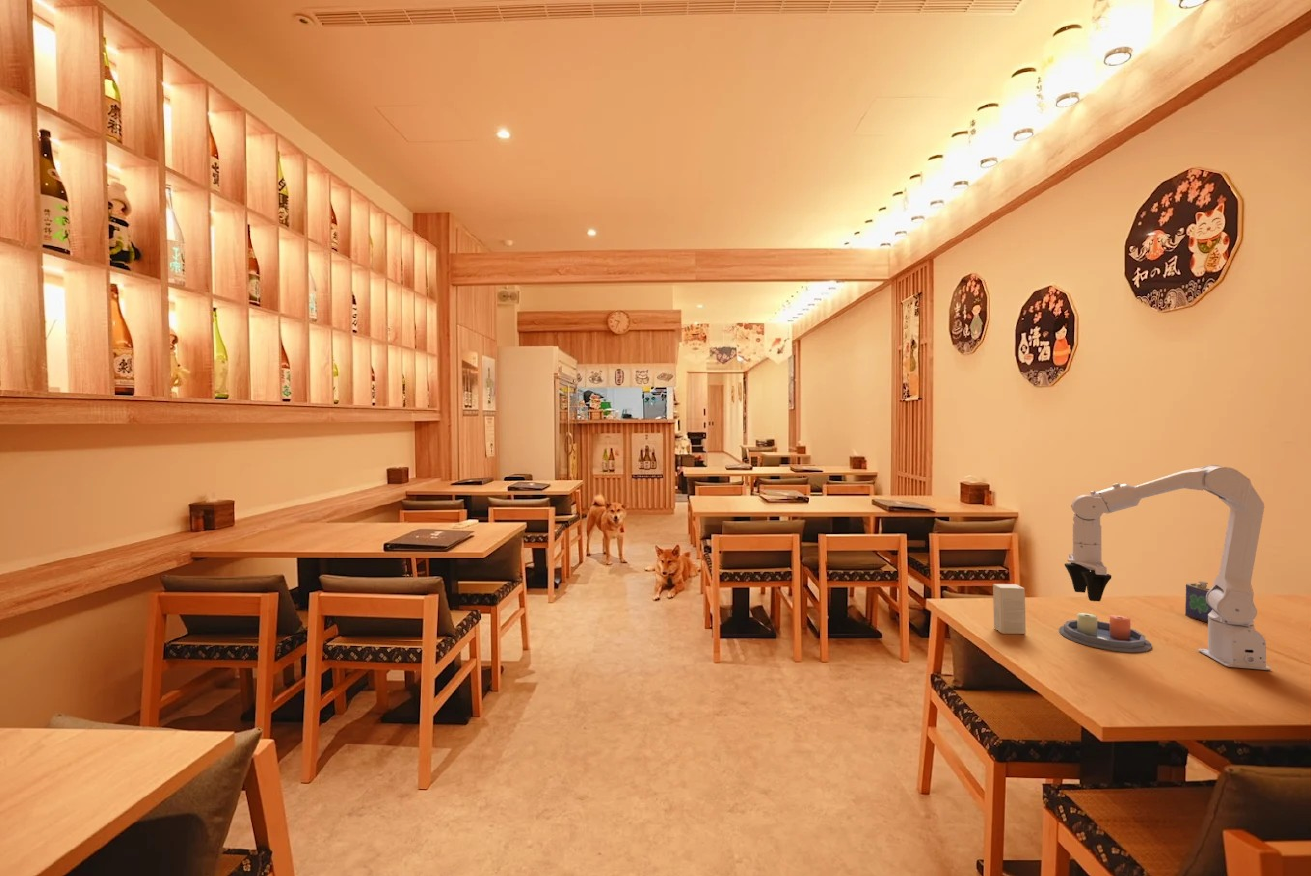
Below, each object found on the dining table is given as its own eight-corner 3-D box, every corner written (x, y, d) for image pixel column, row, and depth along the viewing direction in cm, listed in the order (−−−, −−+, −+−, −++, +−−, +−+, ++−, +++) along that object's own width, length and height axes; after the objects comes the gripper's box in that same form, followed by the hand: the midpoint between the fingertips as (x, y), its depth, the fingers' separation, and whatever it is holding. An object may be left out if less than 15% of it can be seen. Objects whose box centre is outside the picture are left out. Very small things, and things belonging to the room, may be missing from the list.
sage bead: (1101, 638, 137) (1101, 617, 137) (1085, 638, 137) (1085, 618, 137) (1088, 632, 141) (1088, 612, 141) (1073, 632, 141) (1073, 612, 141)
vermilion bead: (1134, 641, 135) (1134, 620, 135) (1115, 639, 136) (1115, 619, 136) (1124, 635, 139) (1124, 615, 139) (1106, 634, 140) (1106, 614, 140)
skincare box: (1016, 628, 146) (1016, 583, 146) (1026, 634, 141) (1025, 588, 141) (992, 628, 146) (992, 583, 146) (1001, 634, 142) (1000, 587, 142)
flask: (1226, 625, 146) (1225, 585, 146) (1215, 626, 146) (1215, 585, 146) (1191, 614, 156) (1190, 576, 155) (1181, 614, 155) (1180, 577, 155)
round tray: (1169, 655, 127) (1169, 647, 127) (1079, 648, 132) (1078, 640, 132) (1125, 628, 145) (1125, 621, 145) (1047, 623, 149) (1047, 616, 149)
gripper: (1056, 536, 147) (1056, 587, 147) (1082, 547, 133) (1082, 603, 133) (1086, 537, 145) (1087, 589, 145) (1116, 549, 131) (1117, 605, 131)
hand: (1087, 596), depth 139 cm, fingers open, 7 cm apart
